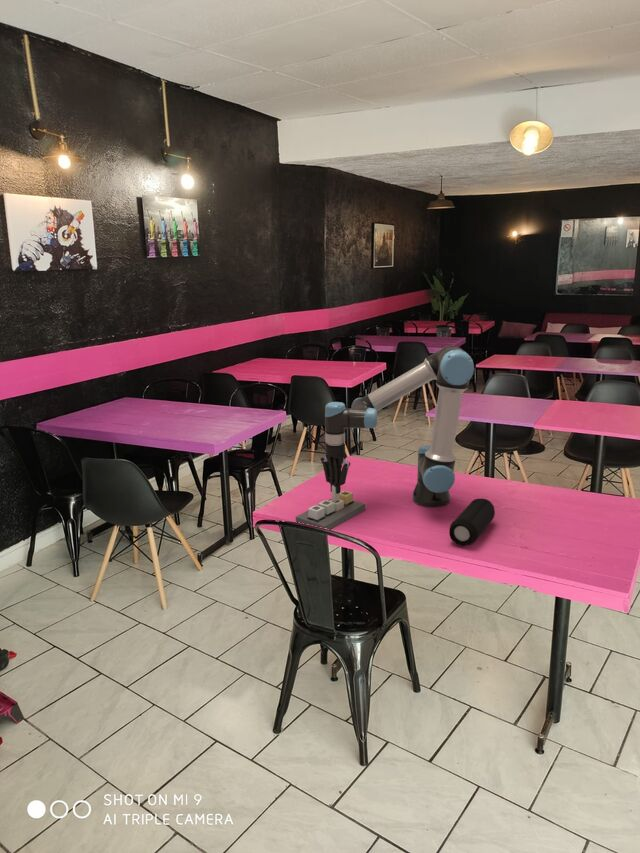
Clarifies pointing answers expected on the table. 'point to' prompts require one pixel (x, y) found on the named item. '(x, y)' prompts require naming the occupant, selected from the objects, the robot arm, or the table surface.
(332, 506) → the key
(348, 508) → the keypad
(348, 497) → the key
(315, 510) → the key
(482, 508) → the portable speaker
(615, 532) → the table surface
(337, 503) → the key
